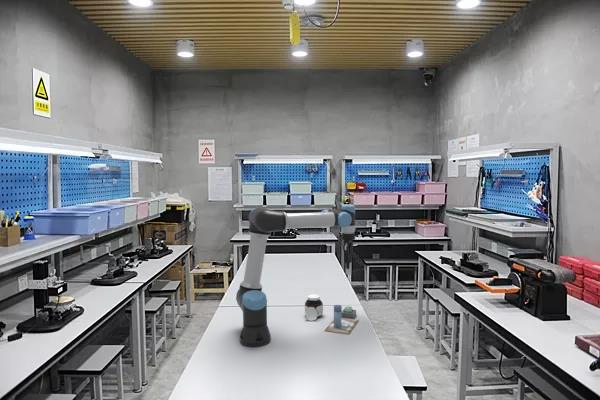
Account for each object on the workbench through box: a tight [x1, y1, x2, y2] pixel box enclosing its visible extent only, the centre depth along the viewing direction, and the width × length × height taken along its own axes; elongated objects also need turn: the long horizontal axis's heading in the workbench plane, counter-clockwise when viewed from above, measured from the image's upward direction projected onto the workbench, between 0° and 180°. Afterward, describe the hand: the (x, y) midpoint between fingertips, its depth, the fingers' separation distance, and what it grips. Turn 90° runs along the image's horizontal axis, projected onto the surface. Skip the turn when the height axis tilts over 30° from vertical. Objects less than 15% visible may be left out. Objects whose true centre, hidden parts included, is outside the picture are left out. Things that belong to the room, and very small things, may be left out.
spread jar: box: [304, 293, 324, 322], centre depth 229 cm, size 12×11×12 cm
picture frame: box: [324, 318, 360, 336], centre depth 217 cm, size 20×13×1 cm, turn 158°
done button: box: [344, 306, 353, 313], centre depth 230 cm, size 4×4×4 cm
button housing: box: [341, 308, 357, 319], centre depth 230 cm, size 7×7×3 cm
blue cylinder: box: [333, 304, 343, 328], centre depth 213 cm, size 4×4×11 cm
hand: (348, 274), depth 228 cm, fingers closed
